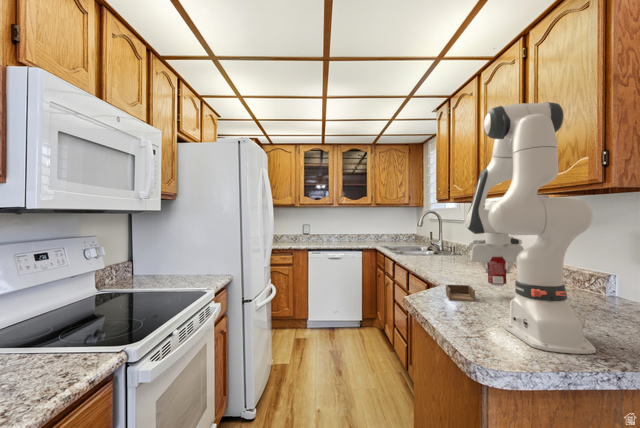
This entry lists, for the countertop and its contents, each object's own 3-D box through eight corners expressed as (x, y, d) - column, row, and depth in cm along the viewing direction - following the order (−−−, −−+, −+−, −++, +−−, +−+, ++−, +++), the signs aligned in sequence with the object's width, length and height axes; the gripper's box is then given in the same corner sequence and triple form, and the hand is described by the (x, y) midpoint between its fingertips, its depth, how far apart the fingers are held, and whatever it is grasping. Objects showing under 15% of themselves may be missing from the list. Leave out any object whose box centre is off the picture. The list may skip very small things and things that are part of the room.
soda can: (505, 286, 125) (504, 256, 126) (486, 285, 129) (485, 255, 130) (507, 284, 131) (506, 255, 131) (489, 282, 135) (488, 254, 135)
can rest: (475, 301, 124) (474, 290, 124) (449, 300, 126) (448, 289, 126) (469, 295, 133) (469, 285, 133) (445, 294, 136) (445, 284, 136)
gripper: (470, 240, 130) (471, 273, 130) (526, 240, 125) (527, 275, 125) (467, 239, 136) (468, 271, 136) (520, 239, 131) (521, 272, 131)
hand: (497, 273), depth 130 cm, fingers closed on soda can, 6 cm apart
